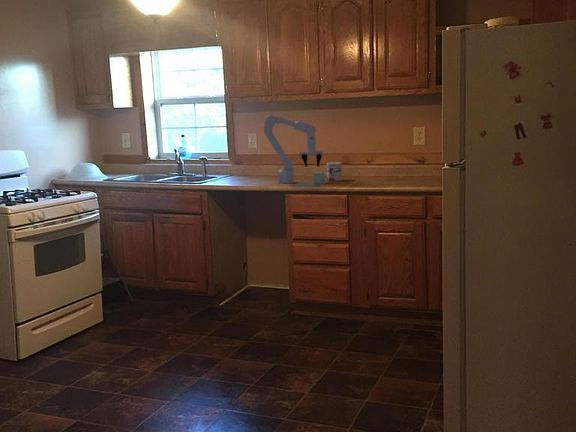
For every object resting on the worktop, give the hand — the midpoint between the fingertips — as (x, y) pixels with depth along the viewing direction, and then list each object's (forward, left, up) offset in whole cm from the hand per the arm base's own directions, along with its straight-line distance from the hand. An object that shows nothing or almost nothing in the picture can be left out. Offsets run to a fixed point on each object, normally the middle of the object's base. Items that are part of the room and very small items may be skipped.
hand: (312, 166), depth 407 cm
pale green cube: (+7, -9, -9) cm, 15 cm away
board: (+2, -14, -10) cm, 17 cm away
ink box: (+13, +4, -10) cm, 17 cm away
